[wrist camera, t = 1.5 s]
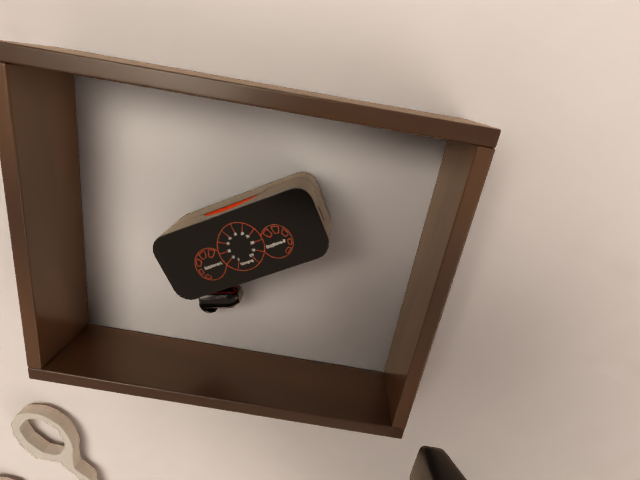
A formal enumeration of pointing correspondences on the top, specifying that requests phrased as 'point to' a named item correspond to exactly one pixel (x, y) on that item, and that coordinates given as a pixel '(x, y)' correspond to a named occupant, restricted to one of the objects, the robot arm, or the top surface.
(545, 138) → the top surface
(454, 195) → the desk tray
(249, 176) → the top surface
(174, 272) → the black dial case
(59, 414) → the scissors
